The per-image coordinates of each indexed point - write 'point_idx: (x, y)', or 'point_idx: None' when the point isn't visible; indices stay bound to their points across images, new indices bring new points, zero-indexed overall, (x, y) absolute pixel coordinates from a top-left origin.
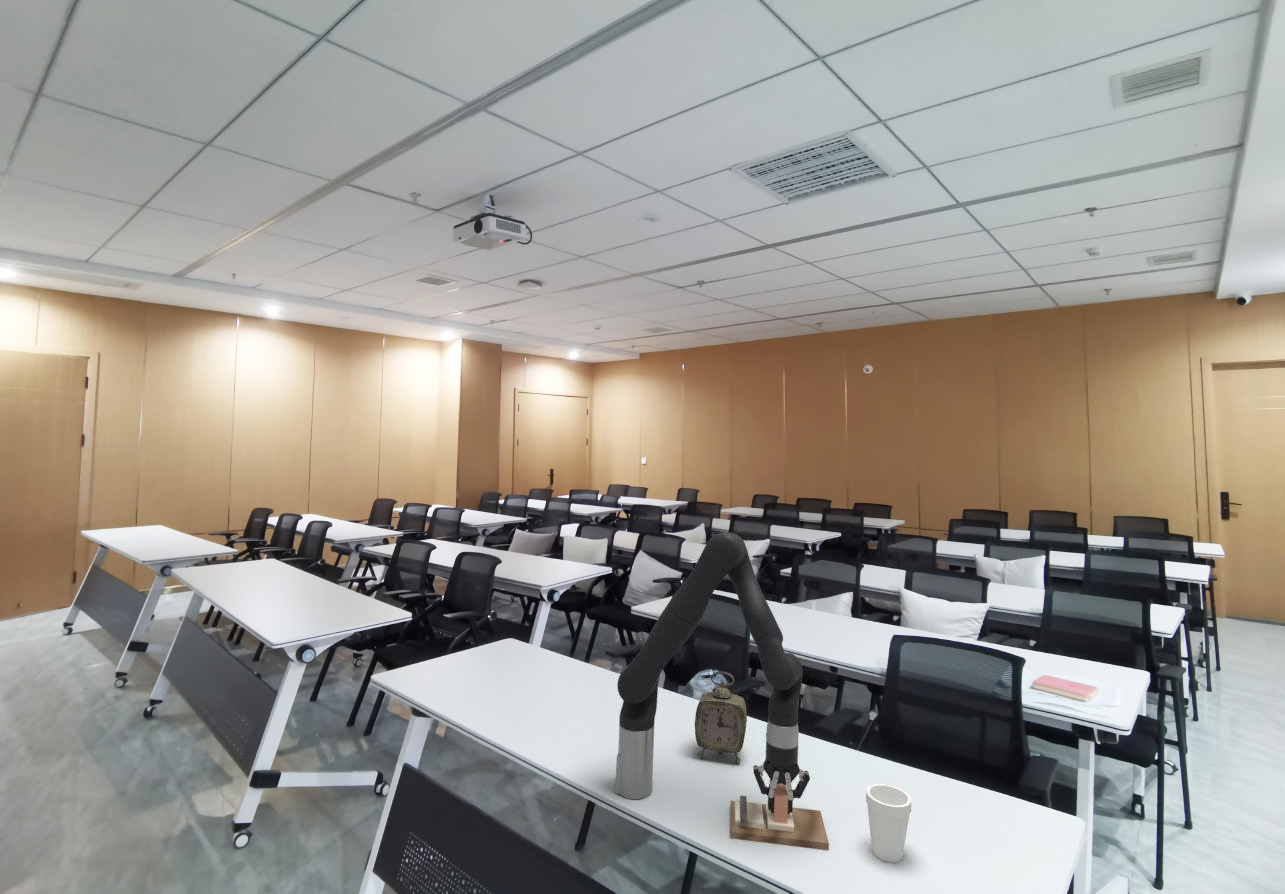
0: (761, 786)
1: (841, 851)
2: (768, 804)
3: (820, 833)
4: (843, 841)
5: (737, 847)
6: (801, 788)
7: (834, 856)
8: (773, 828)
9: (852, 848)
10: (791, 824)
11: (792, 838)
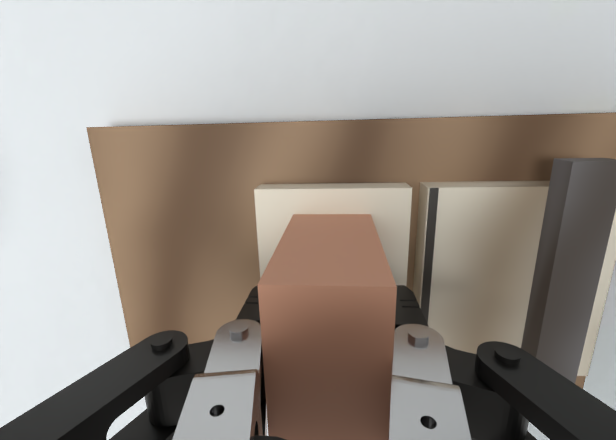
0: (566, 400)
1: (55, 129)
2: (415, 304)
3: (130, 204)
4: (52, 207)
5: (591, 28)
6: (86, 400)
7: (82, 80)
8: (374, 184)
9: (12, 164)
10: (269, 211)
11: (272, 126)
